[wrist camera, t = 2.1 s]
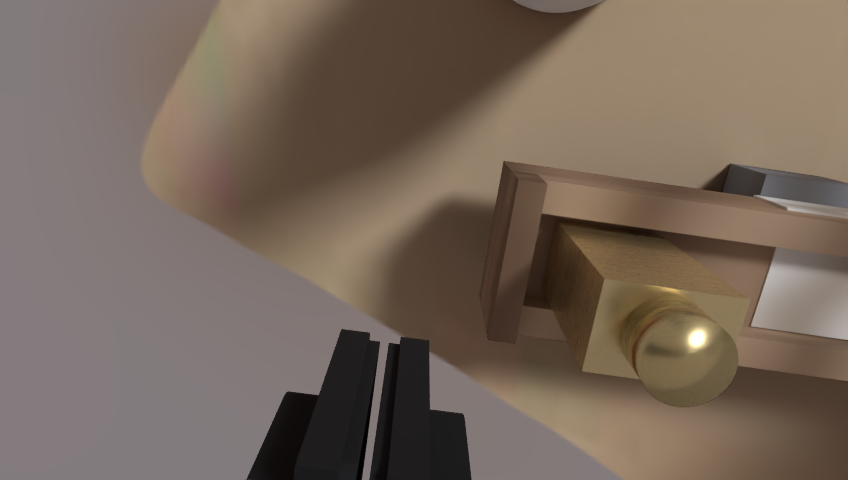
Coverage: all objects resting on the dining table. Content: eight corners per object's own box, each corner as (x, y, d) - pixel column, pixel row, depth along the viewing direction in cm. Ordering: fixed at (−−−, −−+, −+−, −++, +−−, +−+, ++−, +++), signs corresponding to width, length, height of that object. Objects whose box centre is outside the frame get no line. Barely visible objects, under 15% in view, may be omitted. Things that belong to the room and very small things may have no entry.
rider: (661, 235, 21) (785, 324, 14) (642, 303, 22) (751, 424, 14) (556, 220, 21) (623, 301, 14) (542, 289, 22) (597, 402, 14)
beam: (1049, 210, 26) (1278, 259, 19) (979, 362, 29) (1160, 458, 21) (500, 130, 26) (523, 150, 19) (472, 290, 28) (483, 364, 21)
